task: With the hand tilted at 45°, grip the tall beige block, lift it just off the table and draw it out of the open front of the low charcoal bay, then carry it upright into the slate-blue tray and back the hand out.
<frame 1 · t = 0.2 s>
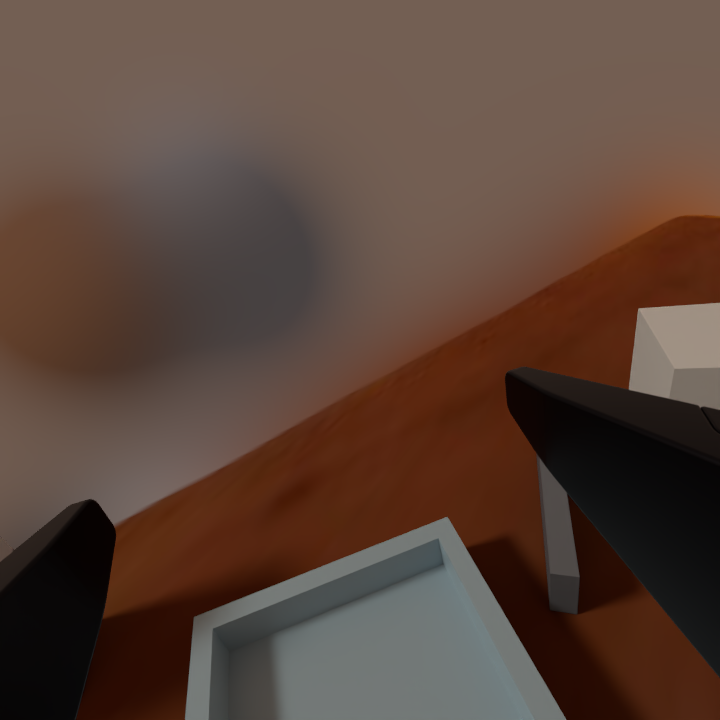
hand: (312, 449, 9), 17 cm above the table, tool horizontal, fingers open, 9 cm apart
tall beige block: (697, 443, 20), in the bay
bay: (680, 538, 22), on the table
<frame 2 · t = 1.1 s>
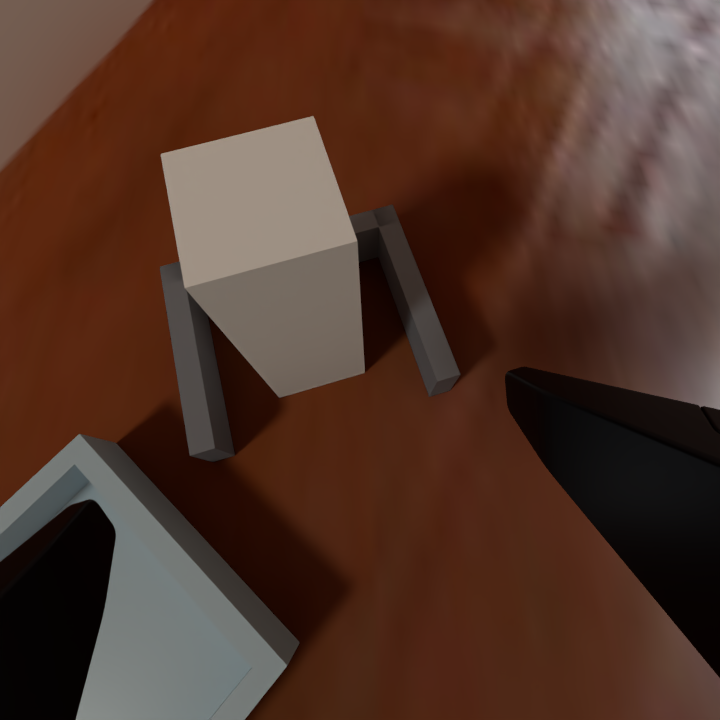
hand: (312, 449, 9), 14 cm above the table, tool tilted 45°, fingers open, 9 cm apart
tall beige block: (289, 284, 19), in the bay
tray: (88, 656, 19), on the table
bay: (311, 345, 24), on the table
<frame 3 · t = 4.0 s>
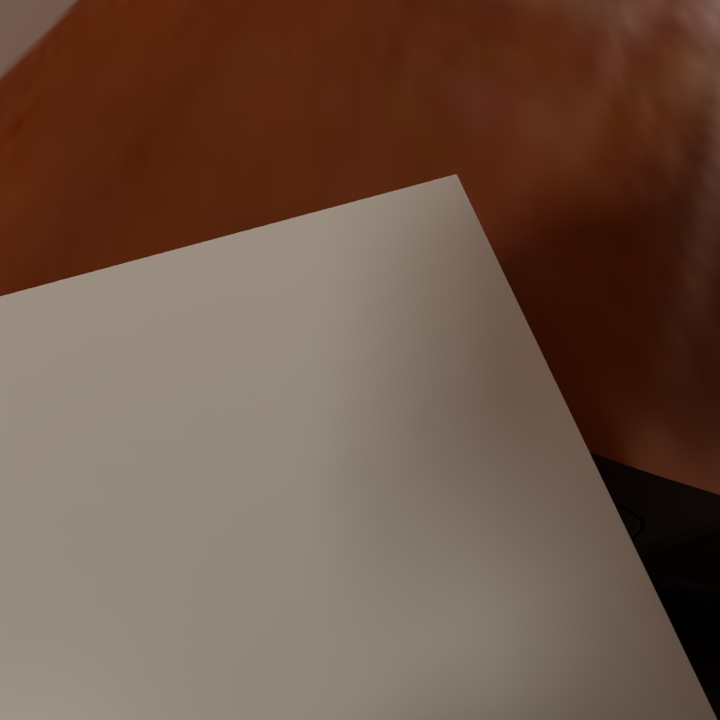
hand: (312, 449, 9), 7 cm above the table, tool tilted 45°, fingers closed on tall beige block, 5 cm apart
tall beige block: (324, 489, 9), in the bay, touching gripper
when the fingers open (8 cm above the table, at t = 9.7 s): tall beige block drops 1 cm, resting on tray.
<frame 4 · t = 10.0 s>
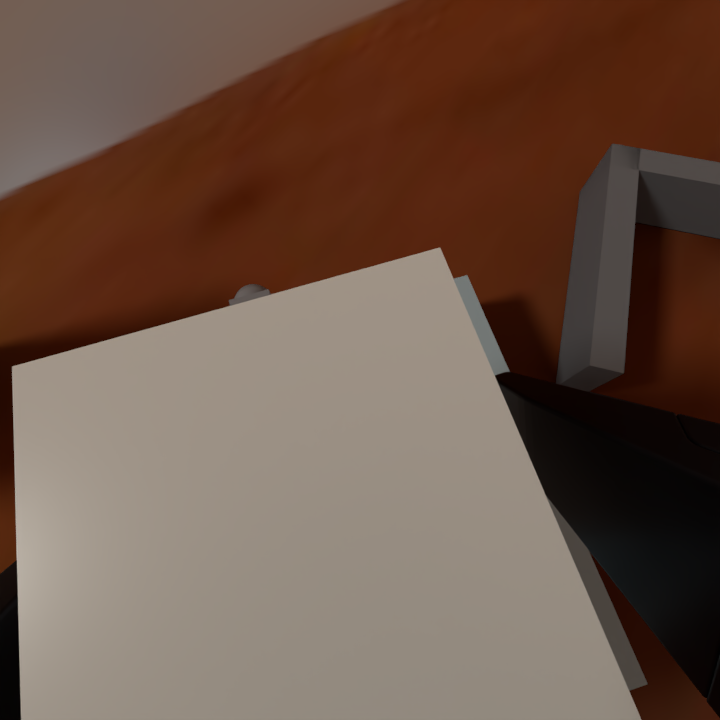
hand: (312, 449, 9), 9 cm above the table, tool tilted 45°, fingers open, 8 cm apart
tall beige block: (330, 490, 10), in the tray, point 7 cm above the table
tray: (350, 509, 17), on the table
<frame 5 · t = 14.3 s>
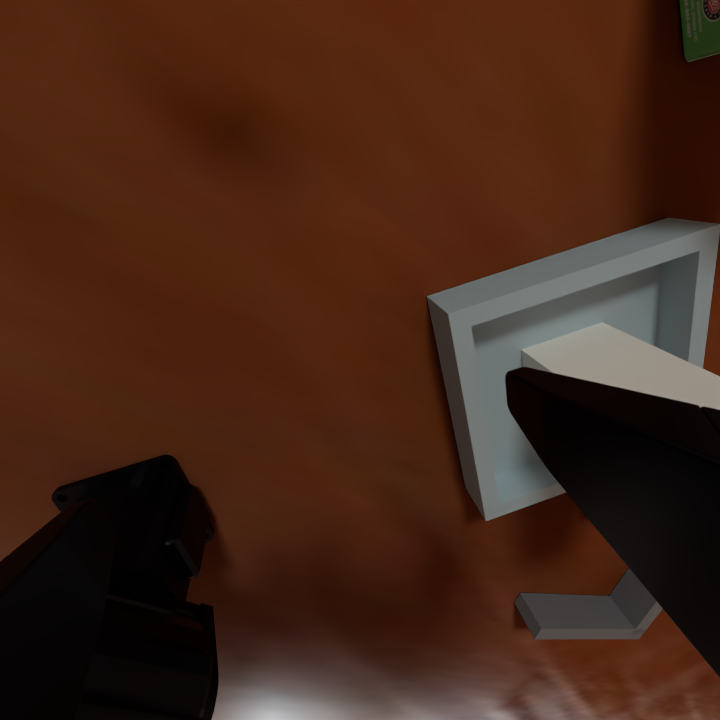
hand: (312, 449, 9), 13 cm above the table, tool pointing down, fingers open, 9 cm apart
tall beige block: (659, 428, 19), in the tray, point 7 cm above the table
tray: (555, 367, 25), on the table
bay: (599, 546, 34), on the table
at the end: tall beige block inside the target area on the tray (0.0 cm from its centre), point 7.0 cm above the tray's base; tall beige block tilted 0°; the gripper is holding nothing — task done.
